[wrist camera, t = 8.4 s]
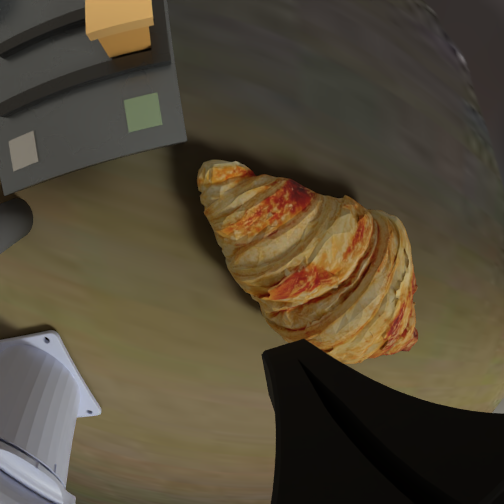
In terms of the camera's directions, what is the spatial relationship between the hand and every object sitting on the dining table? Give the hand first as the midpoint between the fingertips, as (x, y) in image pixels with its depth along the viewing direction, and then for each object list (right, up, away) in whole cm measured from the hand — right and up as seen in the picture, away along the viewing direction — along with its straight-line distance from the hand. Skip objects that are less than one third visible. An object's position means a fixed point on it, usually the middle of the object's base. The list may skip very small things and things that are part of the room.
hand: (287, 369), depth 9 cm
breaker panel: (-10, +14, +4) cm, 18 cm away
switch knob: (-7, +14, +2) cm, 16 cm away
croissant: (+4, +3, +12) cm, 13 cm away
